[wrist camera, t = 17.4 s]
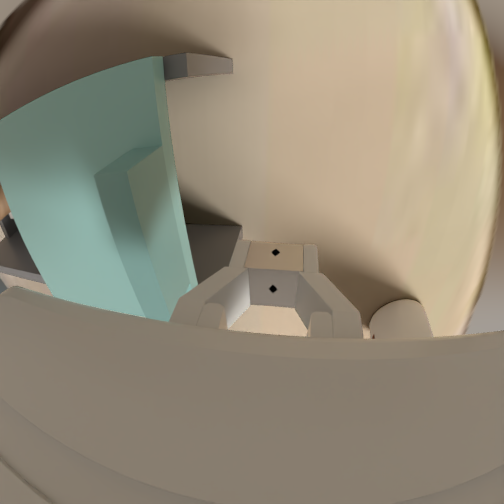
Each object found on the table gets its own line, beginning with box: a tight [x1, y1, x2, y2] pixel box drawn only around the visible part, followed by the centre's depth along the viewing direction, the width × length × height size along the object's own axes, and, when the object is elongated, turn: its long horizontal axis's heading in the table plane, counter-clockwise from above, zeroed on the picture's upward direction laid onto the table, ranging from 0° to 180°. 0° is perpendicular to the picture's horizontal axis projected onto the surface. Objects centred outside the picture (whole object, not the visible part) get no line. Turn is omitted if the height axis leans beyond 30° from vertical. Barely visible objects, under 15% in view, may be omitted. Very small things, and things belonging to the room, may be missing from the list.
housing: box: [0, 53, 243, 285], centre depth 20 cm, size 16×35×10 cm, turn 92°
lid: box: [0, 56, 198, 322], centre depth 13 cm, size 16×15×4 cm
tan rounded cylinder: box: [0, 183, 11, 221], centre depth 22 cm, size 4×4×7 cm
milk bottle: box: [369, 299, 433, 339], centre depth 23 cm, size 8×8×20 cm
